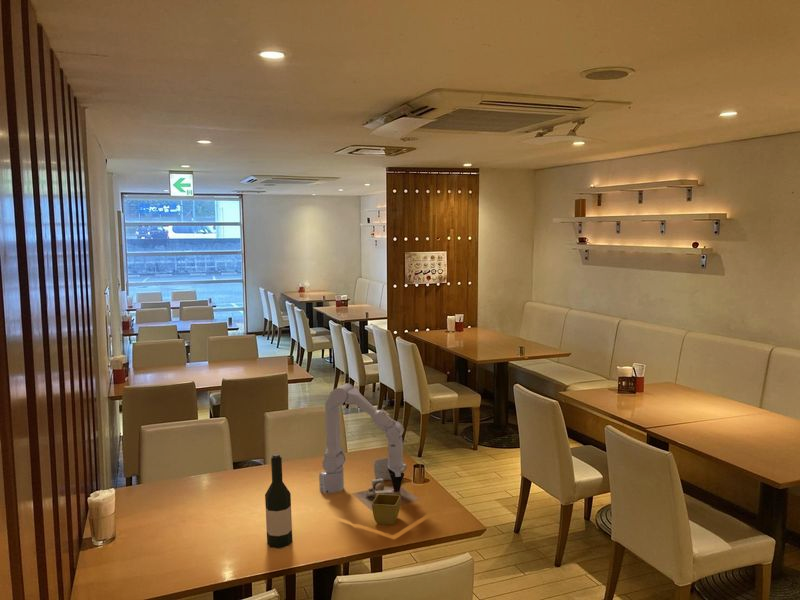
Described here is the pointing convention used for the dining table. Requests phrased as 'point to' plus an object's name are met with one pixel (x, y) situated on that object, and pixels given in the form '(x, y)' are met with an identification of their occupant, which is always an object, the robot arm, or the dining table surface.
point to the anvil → (376, 481)
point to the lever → (381, 492)
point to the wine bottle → (278, 508)
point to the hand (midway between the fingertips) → (396, 488)
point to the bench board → (404, 495)
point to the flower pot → (386, 508)
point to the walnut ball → (379, 487)
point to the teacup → (383, 469)
